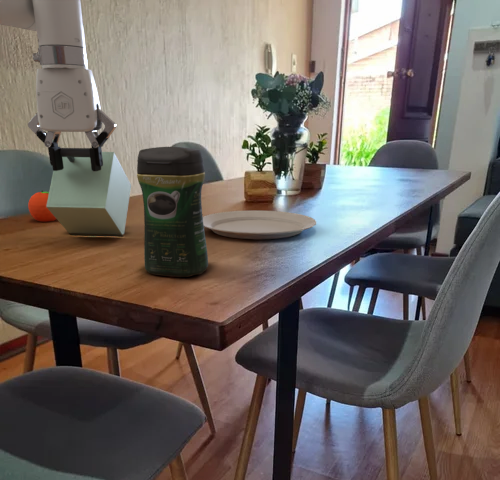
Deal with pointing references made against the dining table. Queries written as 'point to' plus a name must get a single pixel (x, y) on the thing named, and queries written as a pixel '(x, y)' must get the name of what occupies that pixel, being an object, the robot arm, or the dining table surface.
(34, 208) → the clementine
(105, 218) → the pale sage cube
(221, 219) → the plate
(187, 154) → the coffee jar
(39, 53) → the robot arm
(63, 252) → the dining table surface
